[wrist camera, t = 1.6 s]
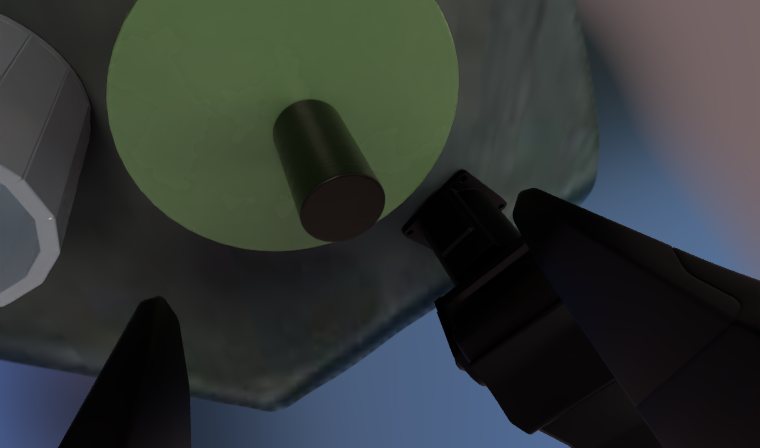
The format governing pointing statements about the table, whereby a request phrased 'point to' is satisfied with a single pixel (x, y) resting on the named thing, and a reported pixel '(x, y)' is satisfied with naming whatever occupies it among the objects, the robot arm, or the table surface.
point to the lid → (281, 113)
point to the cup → (36, 155)
